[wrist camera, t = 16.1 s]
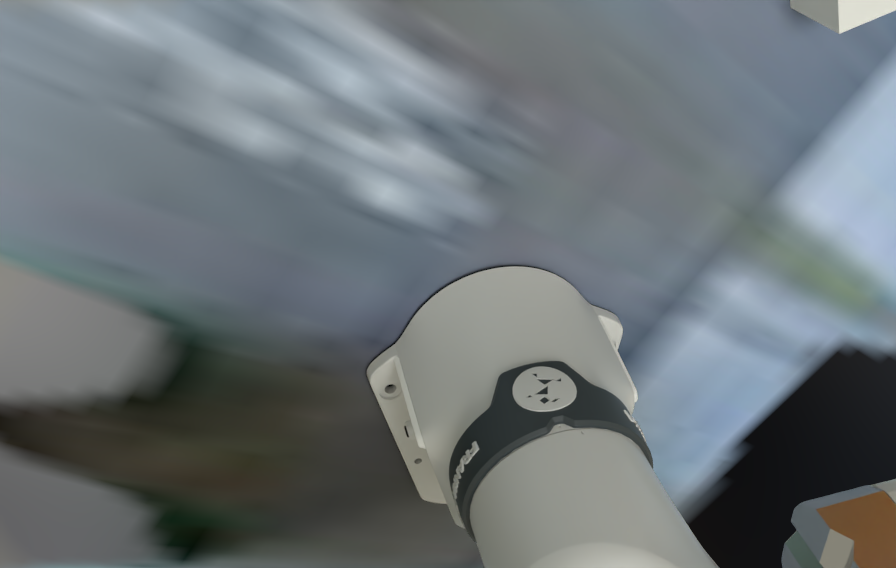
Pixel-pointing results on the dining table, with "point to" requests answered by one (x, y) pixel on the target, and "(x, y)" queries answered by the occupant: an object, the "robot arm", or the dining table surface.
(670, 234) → the dining table surface
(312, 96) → the dining table surface
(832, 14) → the grey cube
